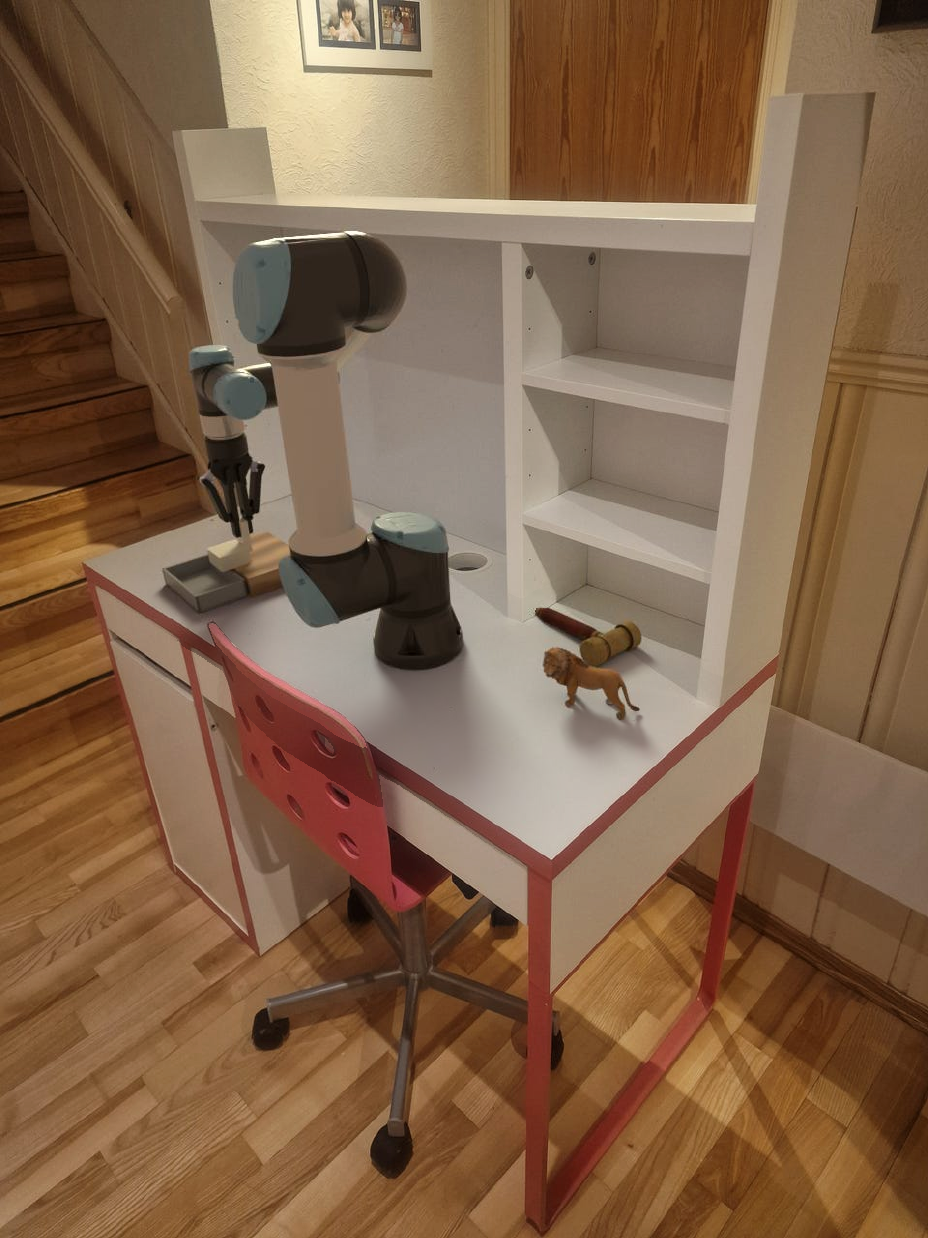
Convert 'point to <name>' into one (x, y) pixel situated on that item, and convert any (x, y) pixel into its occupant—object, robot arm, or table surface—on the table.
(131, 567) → the table surface
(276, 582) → the board
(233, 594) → the tray
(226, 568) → the block
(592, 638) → the gavel
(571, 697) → the lion figurine
